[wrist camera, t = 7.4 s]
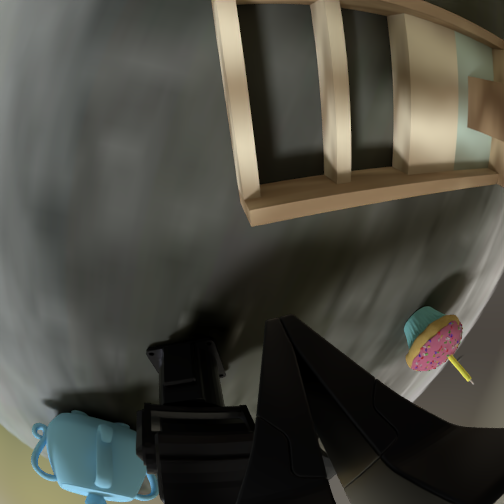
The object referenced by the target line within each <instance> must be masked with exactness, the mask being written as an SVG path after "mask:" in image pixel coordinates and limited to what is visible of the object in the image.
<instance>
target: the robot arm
mask: <svg viewBox="0 0 504 504" xmlns="http://www.w3.org/2000/svg"><path fill="white" fill-rule="evenodd" d="M146 355H147V356H148V358H149V360H150V361H151V363H152V364H153V366H154V367H155V369H156V370H157V372H158V373H159V403H160V405H155V404H151V403H144V409H142V410H140V411H137V432H136V455H137V456H138V457H139V458H140V459H141V460H142V461H143V464H144V466H146V469H147V474H157V484H158V490H159V495H160V499H161V500H162V502H163V503H164V504H336V502H335V500H334V498H333V495H332V492H331V489H330V485H329V482H328V479H327V473H326V469H325V465H324V461H323V457H322V453H321V449H320V445H319V441H318V437H317V434H318V436H319V438H320V440H321V442H322V444H323V447H324V449H325V451H326V453H327V455H328V457H329V459H330V461H331V463H332V465H333V468H334V470H335V472H336V474H337V476H338V478H339V479H340V482H341V484H342V486H343V488H344V490H345V492H346V494H347V496H348V499H349V501H350V503H351V504H504V428H475V427H463V426H458V425H455V424H452V423H449V422H447V421H445V420H443V419H441V418H439V417H437V416H436V415H434V414H432V413H430V412H428V411H426V410H424V409H423V408H421V407H419V406H417V405H415V404H414V403H412V402H410V401H409V400H407V399H405V398H404V397H402V396H400V395H399V394H397V393H396V392H394V391H393V390H391V389H390V388H389V387H387V386H386V385H384V384H383V383H382V382H380V381H379V380H378V379H375V377H374V376H372V375H371V374H370V373H368V372H367V371H366V370H364V369H363V368H362V367H360V366H359V365H358V364H356V363H355V362H354V361H353V360H351V359H350V358H349V357H347V356H346V355H345V354H343V353H342V352H341V351H339V350H338V349H337V348H336V347H334V346H333V345H332V344H330V343H329V342H328V341H326V340H325V339H324V338H323V337H321V336H320V335H319V334H317V333H316V332H315V331H314V330H312V329H311V328H310V327H308V326H307V325H306V324H305V323H303V322H302V321H301V320H300V319H298V318H297V317H296V316H294V315H293V314H289V315H285V316H281V317H280V318H273V319H269V320H266V322H265V331H264V342H263V353H262V364H261V374H260V384H259V394H258V404H257V414H256V416H257V417H256V422H255V423H254V421H253V419H252V417H251V415H250V412H249V410H248V408H247V406H246V405H239V406H225V405H224V400H223V395H222V389H221V384H220V378H223V377H225V376H226V373H225V370H224V367H223V364H222V361H221V358H220V356H219V353H218V350H217V347H216V344H215V341H214V339H213V338H212V337H205V338H200V339H195V340H190V341H185V342H179V343H174V344H168V345H163V346H157V347H151V348H148V349H147V350H146ZM316 432H317V433H316Z"/></svg>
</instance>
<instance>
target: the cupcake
mask: <svg viewBox="0 0 504 504" xmlns="http://www.w3.org/2000/svg"><path fill="white" fill-rule="evenodd" d="M462 329H463V328H462V324H461V322H460V321H459V319H458V317H457V316H456V315H445V314H443V313H440V312H439V311H437V310H435V309H433V308H432V307H430V306H426V307H423V308H421V309H419V310H418V311H416V312H415V313H414V314H413V315H412V316H411V317H410V318H409V319H408V321H407V322H406V324H405V327H404V332H405V335H406V338H407V341H408V346H409V353H408V354H407V355H406V362H407V364H408V366H409V367H410V368H411V369H413V370H414V371H415V370H417V371H420V372H421V371H430V370H431V369H436V367H438V366H439V365H441V364H442V363H444V362H446V360H447V359H449V360H450V361H451V362H452V364H453V365H454V366H455V367H456V368H457V369H458V371H459V372H460V373H461V374H462V375H463V377H464V378H465V379H466V380H467V381H470V382H471V383H472V384H474V383H473V381H472V380H471V377H470V375H469V374H468V373H467V372H466V371H465V369H464V368H463V367H462V366H461V365H460V364H459V362H458V361H457V360H456V359H455V358H454V357H453V354H454V352H455V351H456V350H457V348H458V345H459V344H460V340H461V339H462V333H463V332H462Z"/></svg>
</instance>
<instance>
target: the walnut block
mask: <svg viewBox="0 0 504 504" xmlns="http://www.w3.org/2000/svg"><path fill="white" fill-rule="evenodd" d="M467 128H470V129H473V130H476V131H478V132H481V133H484V134H486V135H489V136H491V137H493V138H496V139H498V140H501V141H503V142H504V84H502V83H498V82H494V81H490V80H485V79H480V78H476V77H470V76H468V122H467Z"/></svg>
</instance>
